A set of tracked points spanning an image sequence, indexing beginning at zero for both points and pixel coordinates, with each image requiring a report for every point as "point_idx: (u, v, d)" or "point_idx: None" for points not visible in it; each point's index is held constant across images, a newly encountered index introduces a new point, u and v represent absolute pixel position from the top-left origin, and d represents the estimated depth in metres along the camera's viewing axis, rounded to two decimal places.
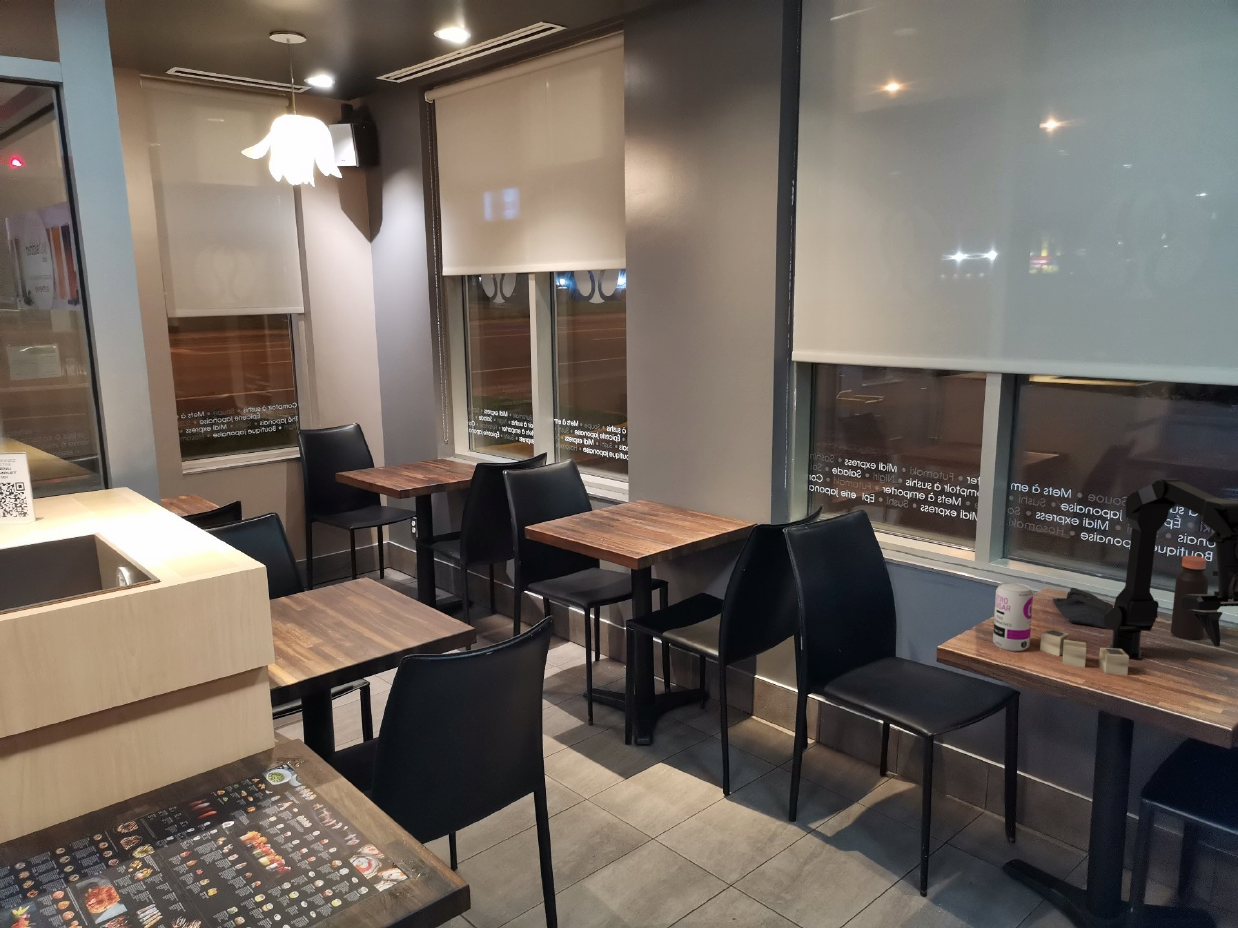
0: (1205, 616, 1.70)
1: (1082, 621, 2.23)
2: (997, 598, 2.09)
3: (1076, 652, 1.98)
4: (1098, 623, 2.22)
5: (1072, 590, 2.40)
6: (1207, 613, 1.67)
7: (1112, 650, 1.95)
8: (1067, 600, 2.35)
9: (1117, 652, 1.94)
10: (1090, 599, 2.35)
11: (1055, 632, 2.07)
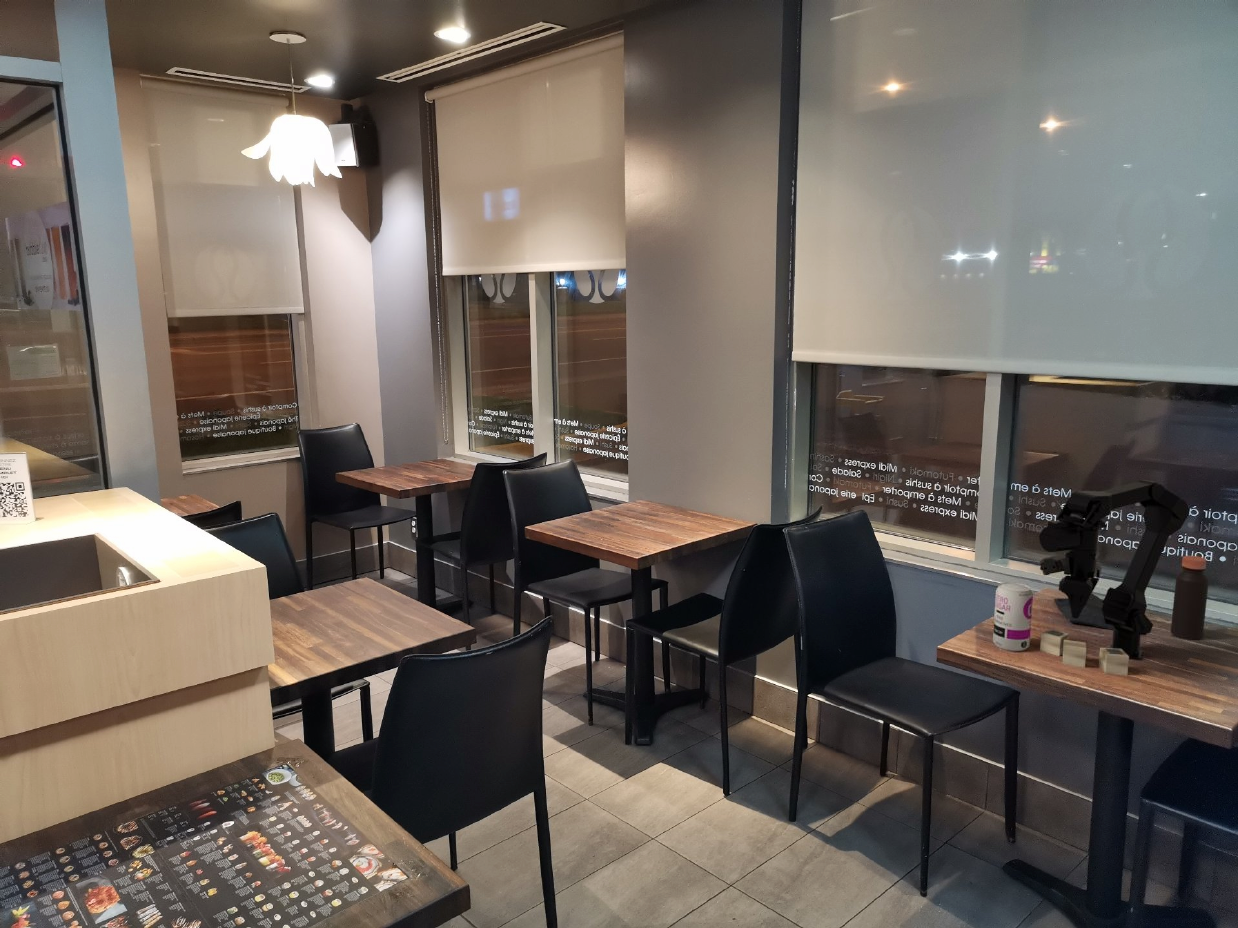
0: None
1: (1083, 621, 2.23)
2: (997, 598, 2.09)
3: (1076, 652, 1.98)
4: (1099, 623, 2.21)
5: None
6: None
7: (1112, 650, 1.95)
8: (1068, 600, 2.35)
9: (1117, 652, 1.94)
10: (1091, 599, 2.35)
11: (1055, 632, 2.07)
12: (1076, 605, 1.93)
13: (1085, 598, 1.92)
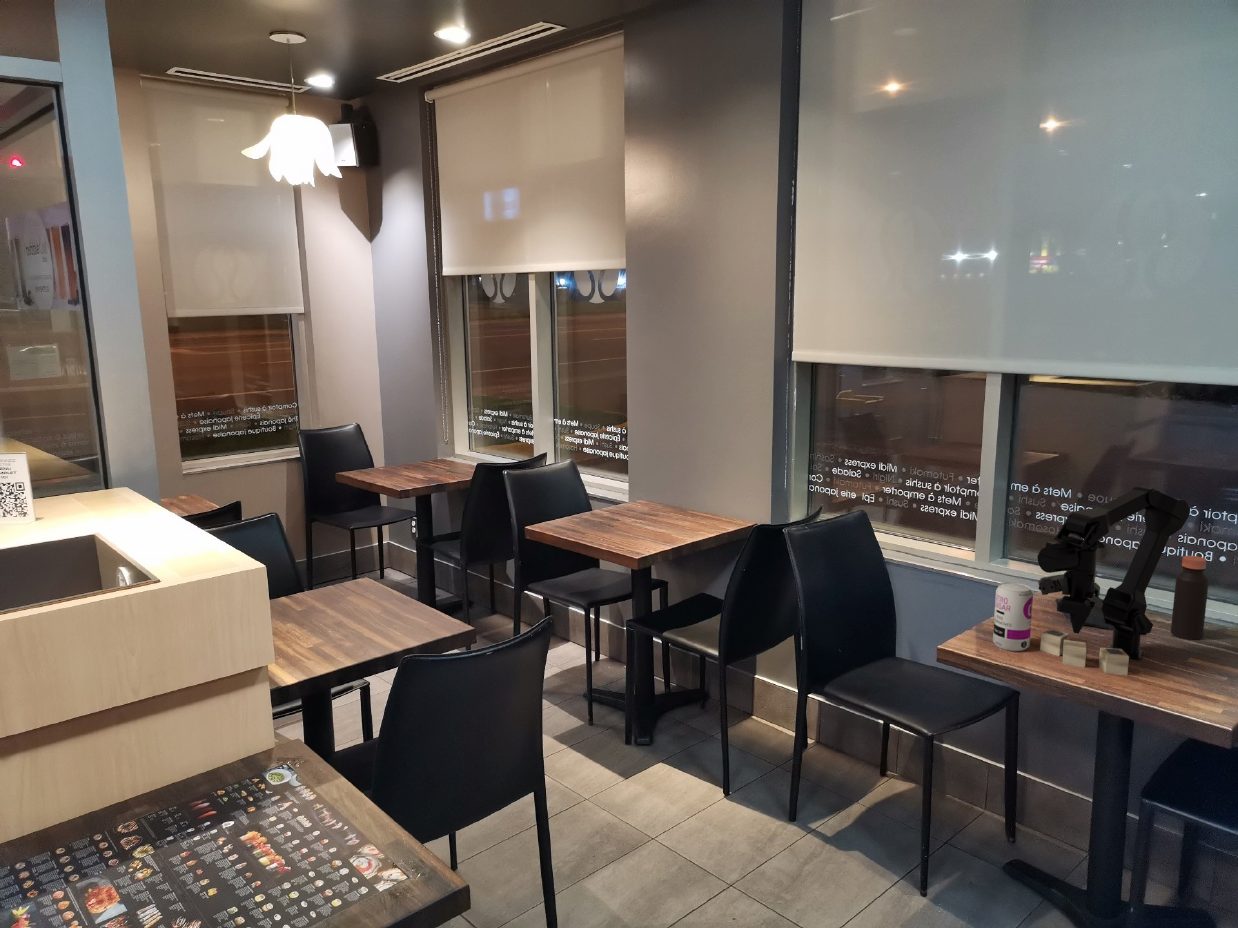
0: None
1: None
2: (997, 598, 2.09)
3: (1076, 652, 1.98)
4: (1100, 624, 2.21)
5: None
6: None
7: (1112, 650, 1.95)
8: None
9: (1117, 652, 1.94)
10: (1092, 600, 2.35)
11: (1055, 632, 2.07)
12: (1077, 620, 1.97)
13: None
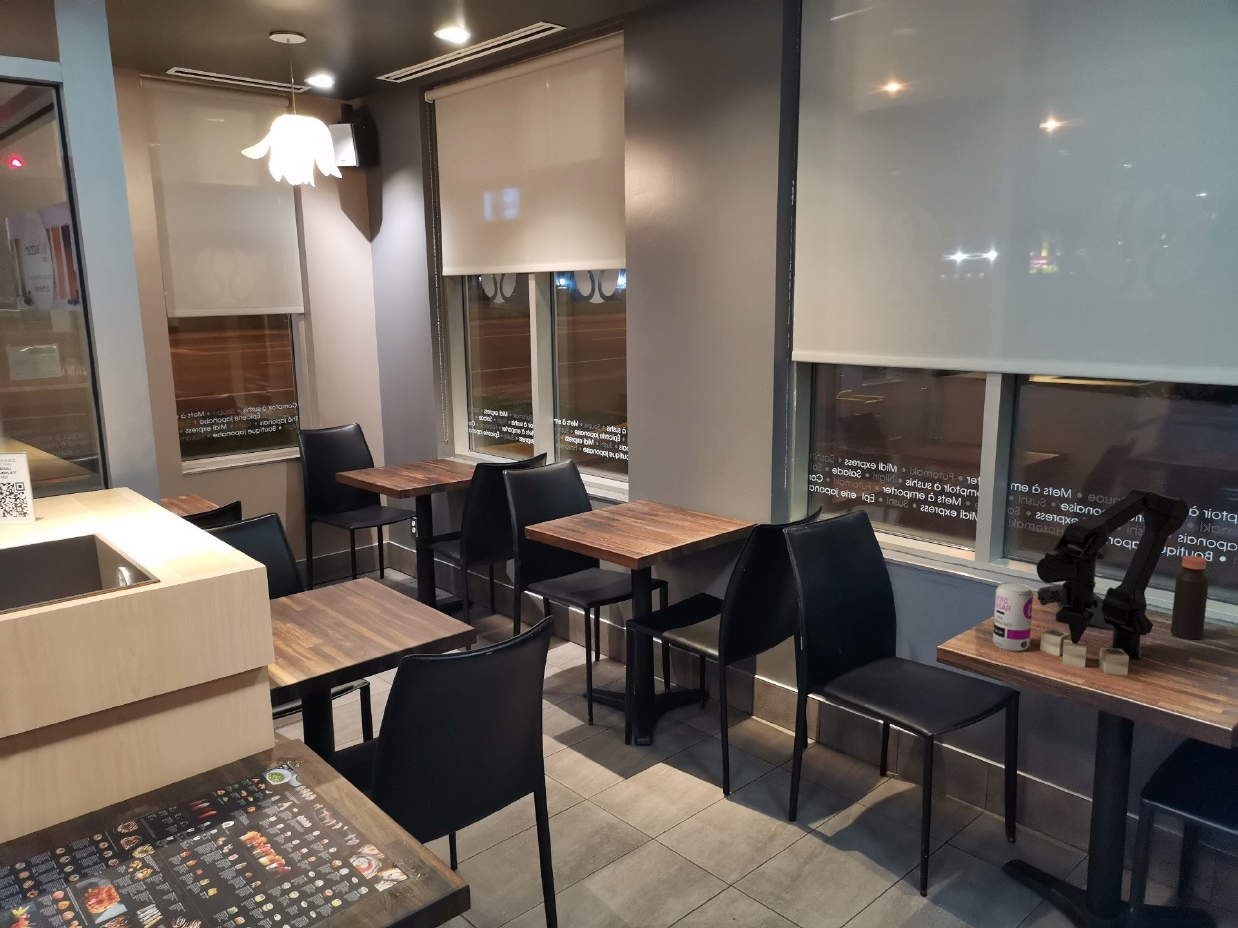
0: None
1: None
2: (997, 598, 2.09)
3: (1076, 652, 1.98)
4: (1100, 624, 2.21)
5: None
6: None
7: (1112, 650, 1.95)
8: None
9: (1117, 652, 1.94)
10: None
11: (1055, 632, 2.07)
12: (1076, 631, 1.98)
13: None
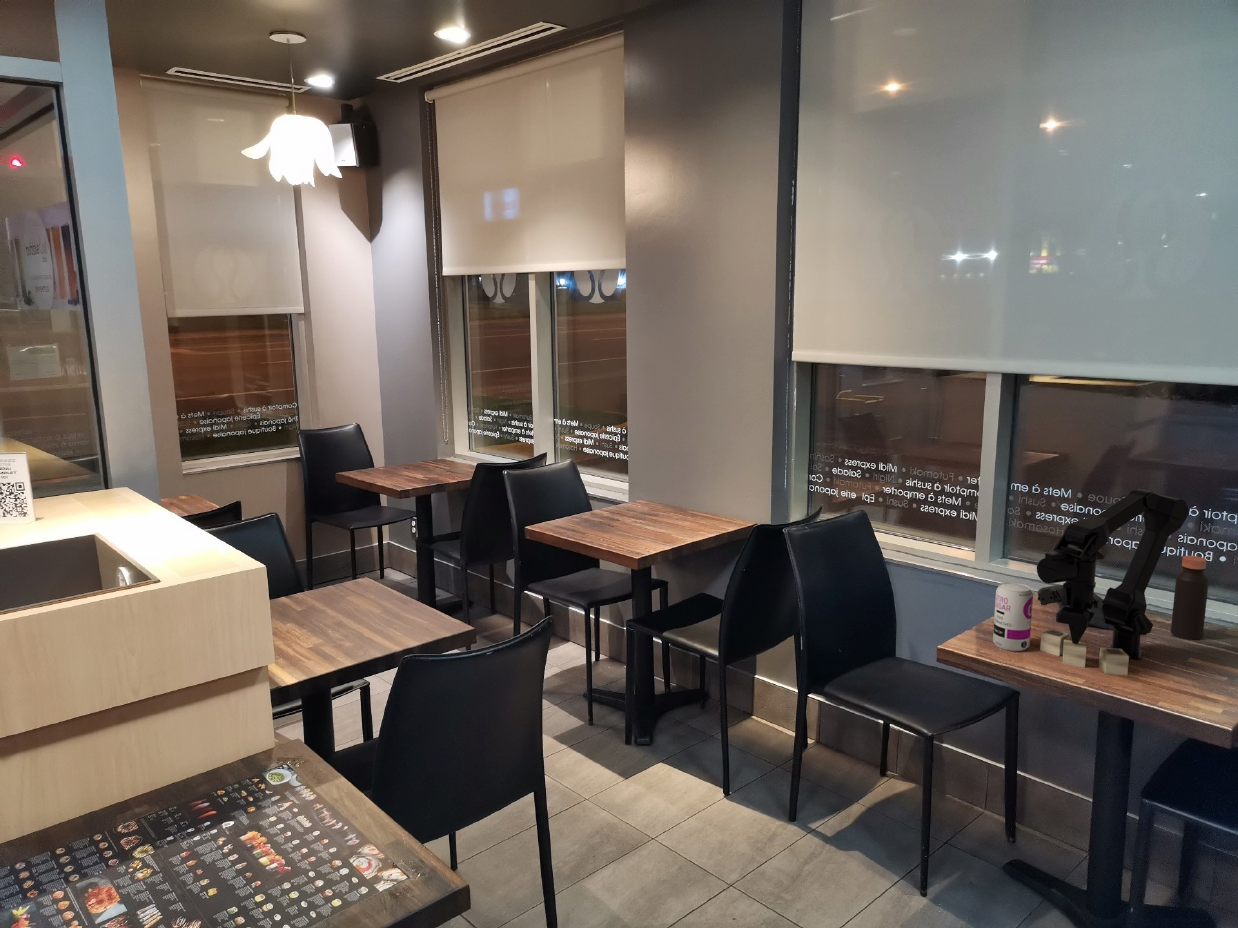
0: None
1: None
2: (997, 598, 2.09)
3: (1076, 652, 1.98)
4: (1100, 624, 2.21)
5: None
6: None
7: (1112, 650, 1.95)
8: None
9: (1117, 652, 1.94)
10: None
11: (1055, 632, 2.07)
12: (1076, 631, 1.98)
13: None
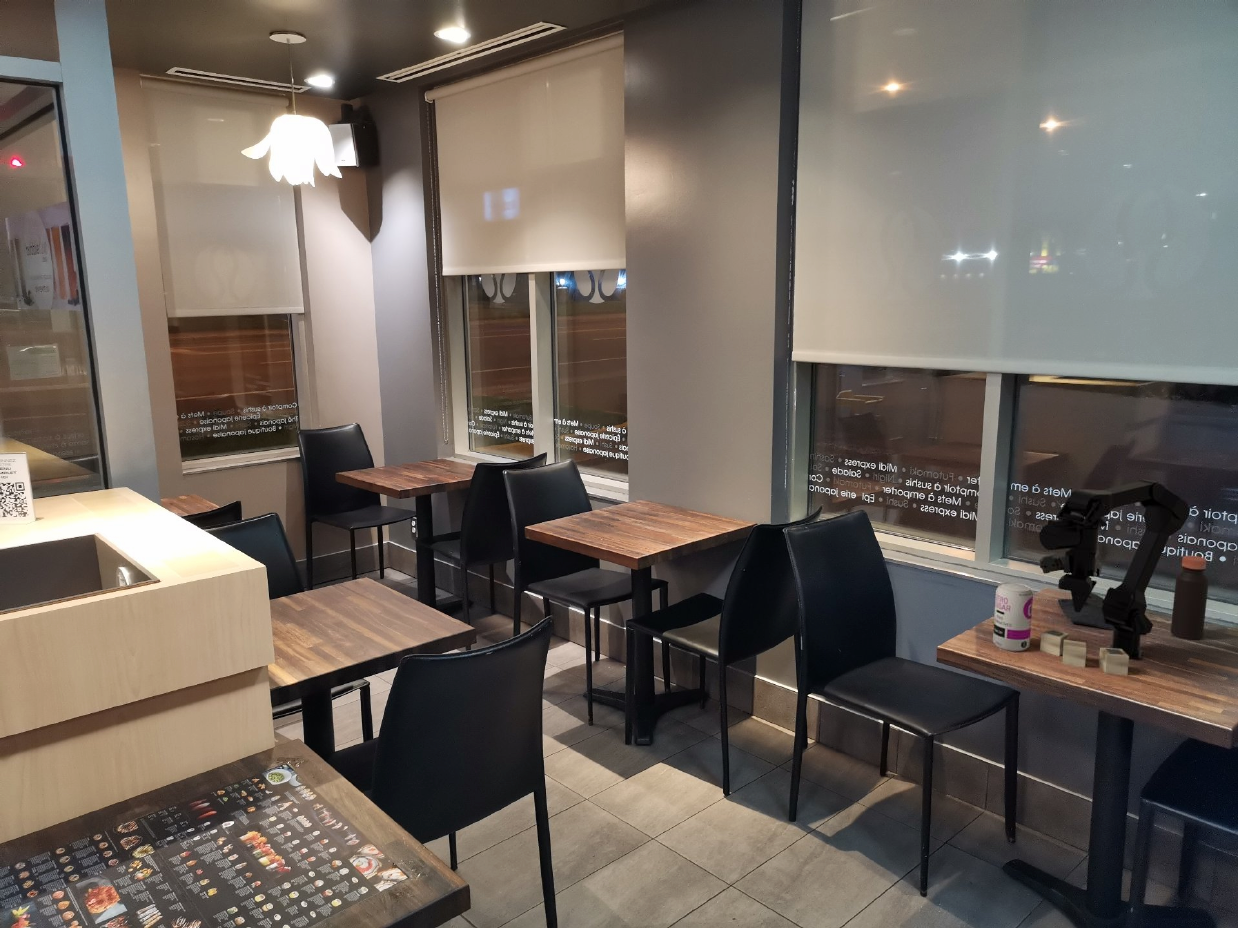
0: None
1: (1084, 622, 2.22)
2: (997, 598, 2.09)
3: (1076, 652, 1.98)
4: (1101, 624, 2.21)
5: None
6: None
7: (1112, 650, 1.95)
8: (1071, 601, 2.34)
9: (1117, 652, 1.94)
10: (1095, 600, 2.34)
11: (1055, 632, 2.07)
12: (1078, 599, 1.97)
13: None
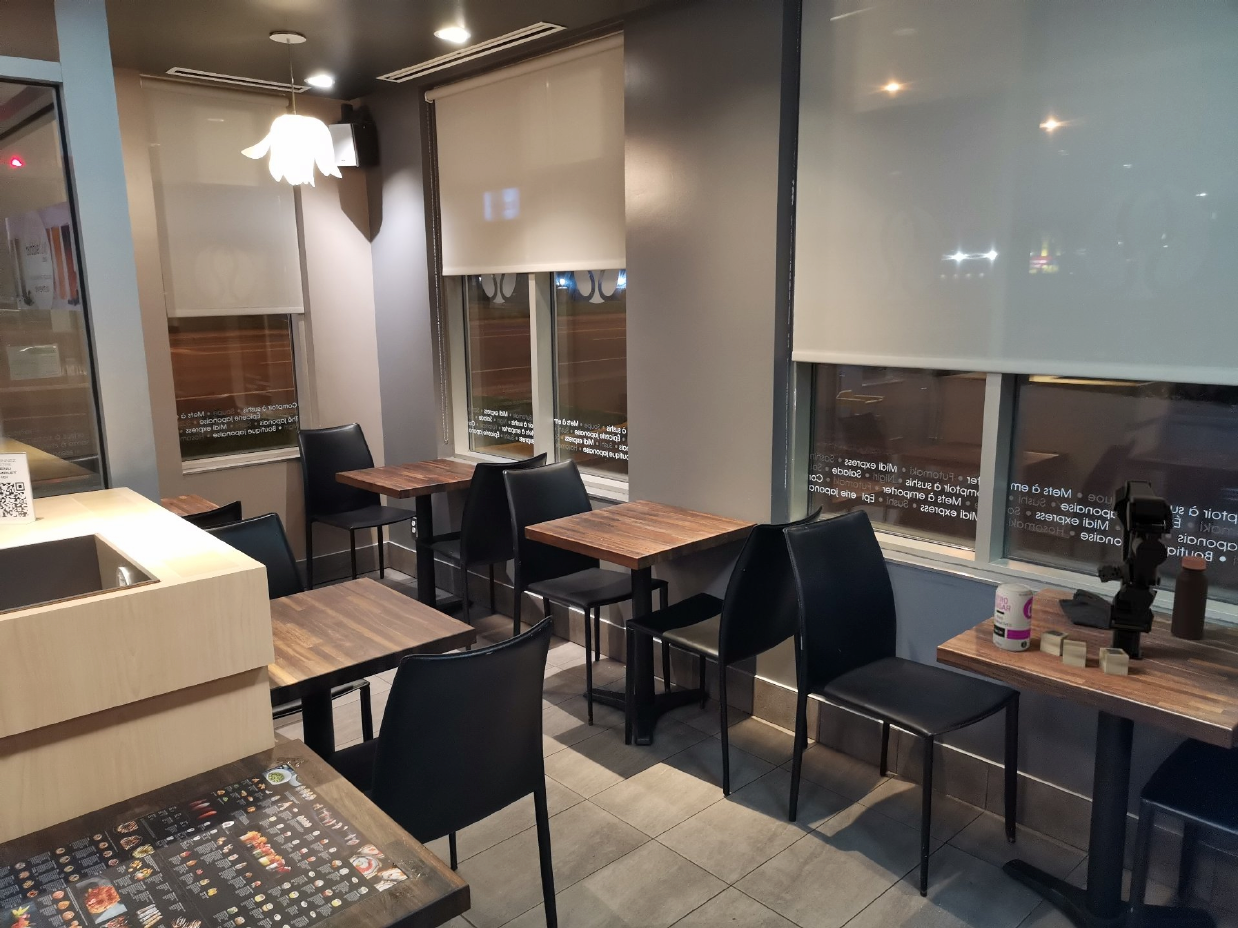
0: None
1: (1084, 622, 2.22)
2: (997, 598, 2.09)
3: (1076, 652, 1.98)
4: (1101, 624, 2.21)
5: (1078, 591, 2.39)
6: None
7: (1112, 650, 1.95)
8: (1072, 601, 2.34)
9: (1117, 652, 1.94)
10: (1096, 600, 2.34)
11: (1055, 632, 2.07)
12: (1139, 609, 1.89)
13: None
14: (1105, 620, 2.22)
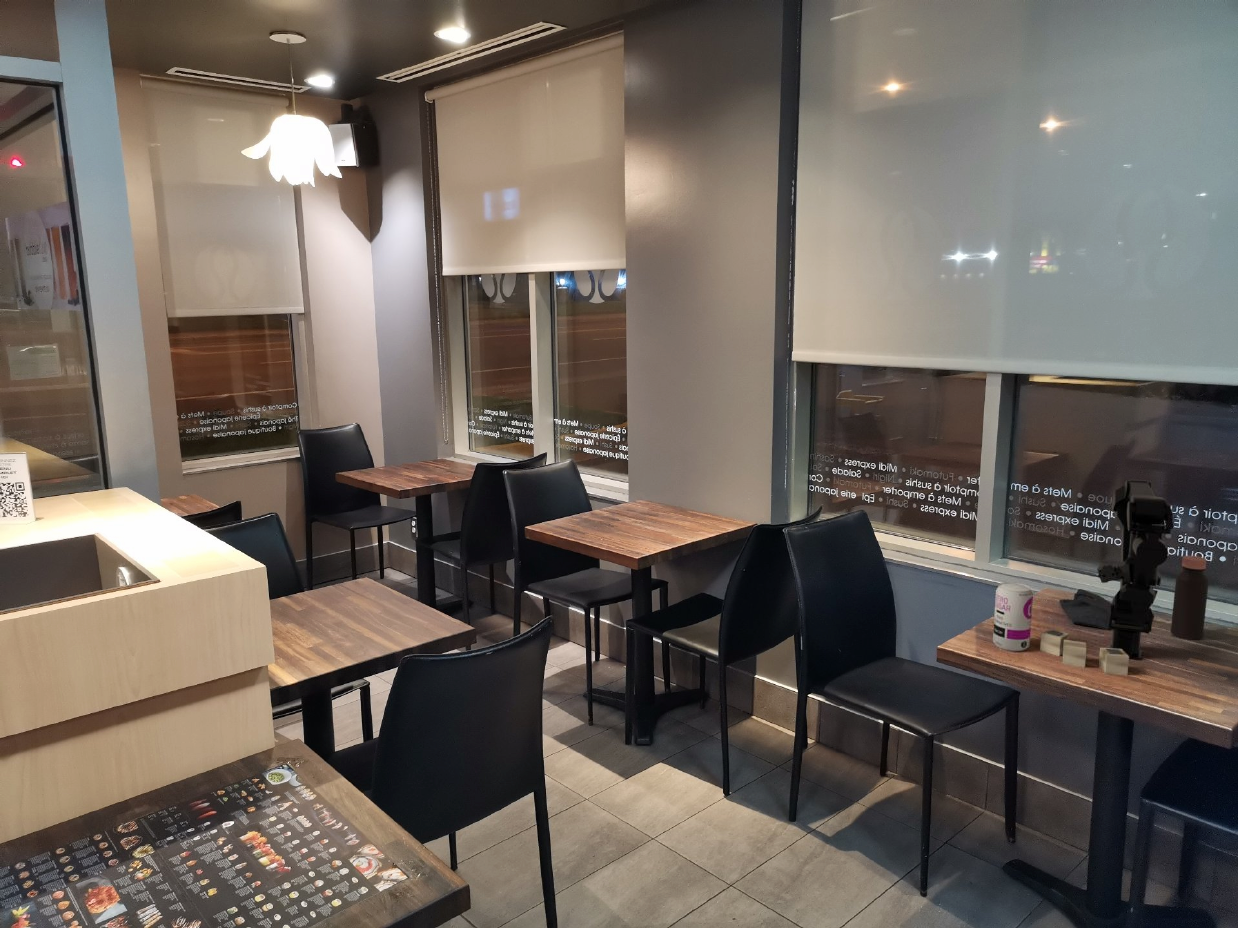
0: None
1: (1085, 622, 2.22)
2: (997, 598, 2.09)
3: (1076, 652, 1.98)
4: (1102, 625, 2.21)
5: (1079, 591, 2.39)
6: None
7: (1112, 650, 1.95)
8: (1073, 601, 2.34)
9: (1117, 652, 1.94)
10: (1096, 600, 2.34)
11: (1055, 632, 2.07)
12: (1139, 609, 1.89)
13: None
14: (1106, 620, 2.21)
